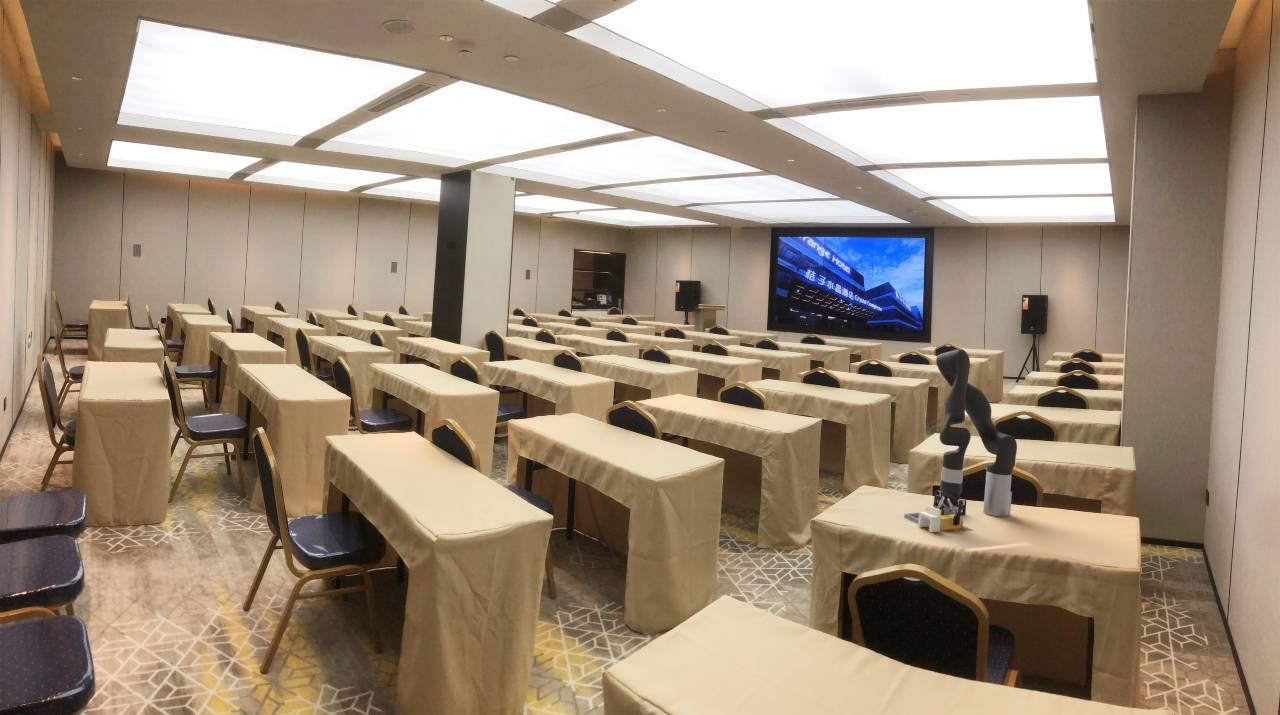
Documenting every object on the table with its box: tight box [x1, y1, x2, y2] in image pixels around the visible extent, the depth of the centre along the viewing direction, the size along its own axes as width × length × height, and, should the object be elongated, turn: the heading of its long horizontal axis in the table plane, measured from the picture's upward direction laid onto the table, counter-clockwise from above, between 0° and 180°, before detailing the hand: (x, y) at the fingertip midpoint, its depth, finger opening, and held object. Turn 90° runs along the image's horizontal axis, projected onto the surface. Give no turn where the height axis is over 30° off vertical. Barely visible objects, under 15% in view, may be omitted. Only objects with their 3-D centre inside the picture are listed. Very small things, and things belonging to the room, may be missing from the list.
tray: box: [903, 512, 930, 524], centre depth 282 cm, size 14×9×2 cm
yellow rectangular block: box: [940, 513, 963, 530], centre depth 273 cm, size 9×4×4 cm, turn 110°
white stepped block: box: [917, 504, 941, 533], centre depth 270 cm, size 4×7×8 cm, turn 20°
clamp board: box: [916, 520, 973, 535], centre depth 273 cm, size 18×10×3 cm, turn 110°
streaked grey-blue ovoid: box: [932, 498, 957, 515], centre depth 293 cm, size 14×10×10 cm
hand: (948, 522), depth 273 cm, fingers open, 7 cm apart
